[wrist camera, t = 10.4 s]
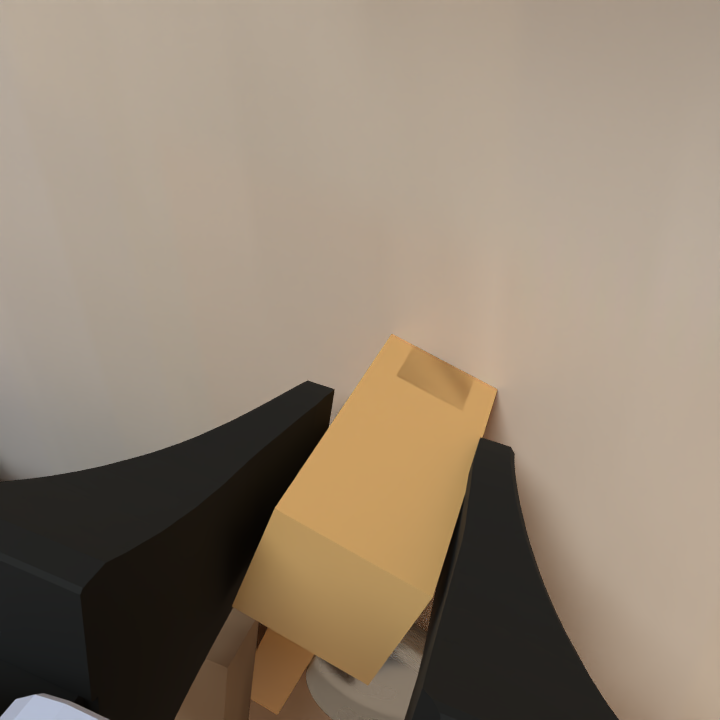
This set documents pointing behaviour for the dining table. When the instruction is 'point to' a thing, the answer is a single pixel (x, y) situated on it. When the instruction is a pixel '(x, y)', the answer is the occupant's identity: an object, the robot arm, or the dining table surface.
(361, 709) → the steel puck
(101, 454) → the dining table surface
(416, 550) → the light wooden mallet
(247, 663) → the walnut l-shaped block
